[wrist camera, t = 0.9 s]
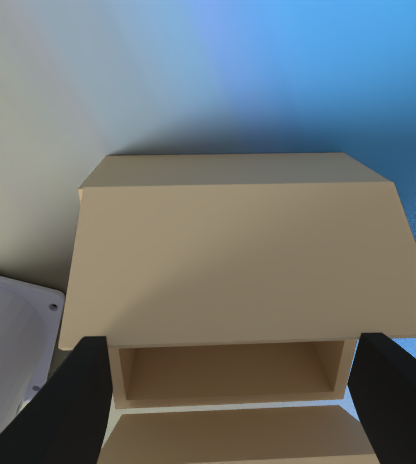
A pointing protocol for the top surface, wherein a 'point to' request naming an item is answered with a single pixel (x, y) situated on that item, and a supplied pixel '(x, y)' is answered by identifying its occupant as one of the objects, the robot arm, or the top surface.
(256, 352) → the carton
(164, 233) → the near flap
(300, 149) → the top surface
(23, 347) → the robot arm
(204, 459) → the far flap
